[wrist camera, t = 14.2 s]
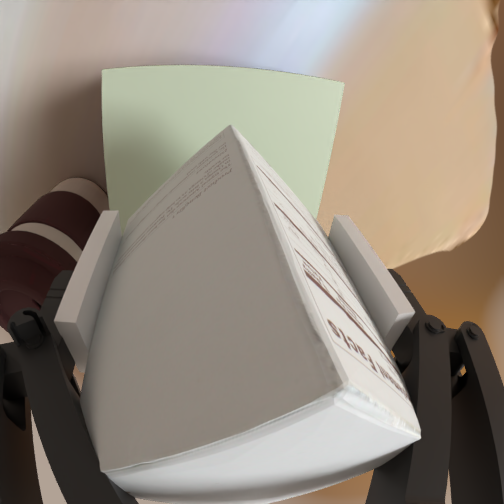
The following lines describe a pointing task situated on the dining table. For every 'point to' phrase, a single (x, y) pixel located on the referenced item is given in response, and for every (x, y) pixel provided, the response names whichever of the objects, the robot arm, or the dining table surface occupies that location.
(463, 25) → the dining table surface
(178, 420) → the supplement box
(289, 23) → the dining table surface
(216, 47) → the dining table surface
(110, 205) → the lid
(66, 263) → the coffee cup
